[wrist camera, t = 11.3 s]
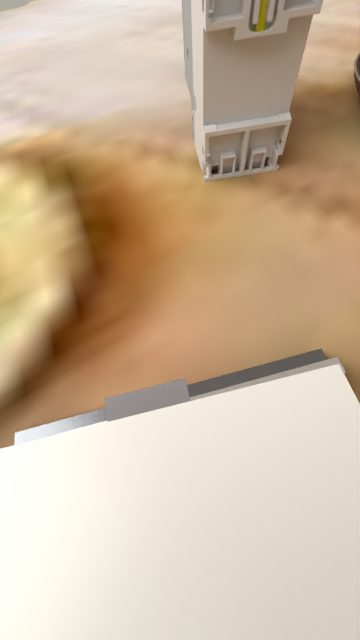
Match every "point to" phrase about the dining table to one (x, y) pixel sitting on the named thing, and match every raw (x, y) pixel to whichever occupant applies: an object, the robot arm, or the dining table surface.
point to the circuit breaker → (243, 79)
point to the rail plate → (197, 391)
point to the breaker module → (189, 518)
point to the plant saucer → (357, 73)
